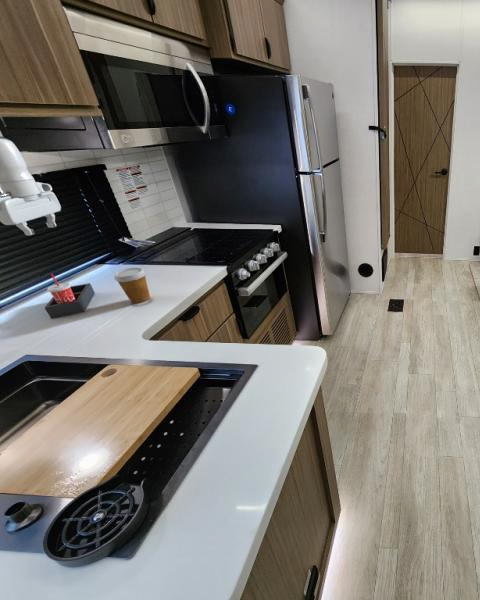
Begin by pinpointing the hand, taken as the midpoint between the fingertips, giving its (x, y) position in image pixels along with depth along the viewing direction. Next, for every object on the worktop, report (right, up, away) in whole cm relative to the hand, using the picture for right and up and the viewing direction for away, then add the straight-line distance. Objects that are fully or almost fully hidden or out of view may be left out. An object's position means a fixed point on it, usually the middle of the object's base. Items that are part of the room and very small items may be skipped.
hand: (42, 230), depth 115 cm
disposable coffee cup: (+22, -24, +16) cm, 36 cm away
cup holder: (-2, -26, +13) cm, 29 cm away
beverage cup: (0, -27, +9) cm, 29 cm away
